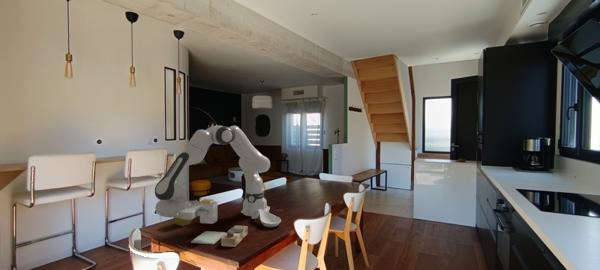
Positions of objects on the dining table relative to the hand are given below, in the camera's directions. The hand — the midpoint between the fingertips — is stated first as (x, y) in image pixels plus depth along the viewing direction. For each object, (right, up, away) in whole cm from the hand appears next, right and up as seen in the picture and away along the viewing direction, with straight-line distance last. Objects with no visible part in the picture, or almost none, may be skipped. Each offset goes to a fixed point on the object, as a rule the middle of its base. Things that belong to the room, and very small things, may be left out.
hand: (210, 211), depth 142 cm
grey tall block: (-1, -5, 0) cm, 6 cm away
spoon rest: (+25, -14, +23) cm, 37 cm away
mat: (-1, -14, +1) cm, 14 cm away
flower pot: (-23, -14, +21) cm, 34 cm away
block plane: (+13, -14, -1) cm, 19 cm away
